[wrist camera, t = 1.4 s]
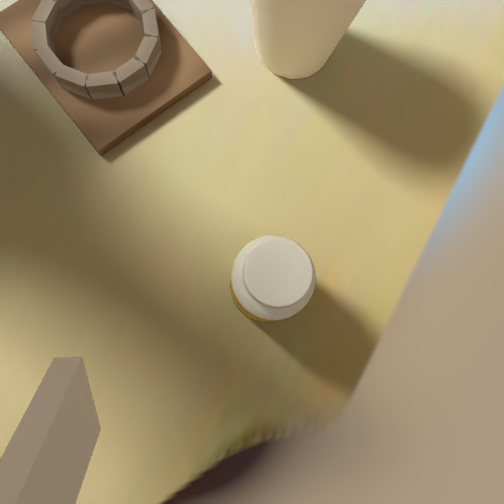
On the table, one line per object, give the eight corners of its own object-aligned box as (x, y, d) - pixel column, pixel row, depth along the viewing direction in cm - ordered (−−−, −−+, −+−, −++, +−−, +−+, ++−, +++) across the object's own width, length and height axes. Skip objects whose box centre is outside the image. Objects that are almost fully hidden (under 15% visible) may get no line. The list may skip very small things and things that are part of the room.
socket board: (-4, 25, 39) (-22, 0, 36) (108, -45, 41) (99, -75, 38) (100, 155, 38) (90, 140, 35) (211, 77, 39) (210, 56, 36)
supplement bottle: (256, 238, 37) (267, 206, 28) (313, 278, 37) (343, 259, 28) (215, 295, 36) (213, 282, 27) (273, 336, 36) (291, 337, 27)
